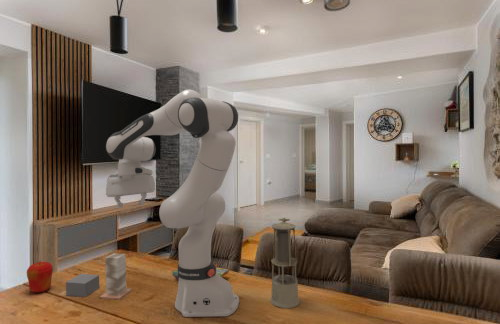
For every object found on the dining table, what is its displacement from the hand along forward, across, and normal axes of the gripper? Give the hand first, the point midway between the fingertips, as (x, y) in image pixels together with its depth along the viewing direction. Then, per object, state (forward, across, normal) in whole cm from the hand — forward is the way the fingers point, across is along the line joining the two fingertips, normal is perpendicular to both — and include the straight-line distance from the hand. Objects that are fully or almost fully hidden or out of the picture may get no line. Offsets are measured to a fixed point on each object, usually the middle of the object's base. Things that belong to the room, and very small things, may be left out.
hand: (130, 206), depth 127 cm
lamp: (+40, +58, +3) cm, 70 cm away
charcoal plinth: (+31, -19, -4) cm, 36 cm away
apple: (+29, -36, -6) cm, 46 cm away
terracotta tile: (+33, -5, -4) cm, 33 cm away
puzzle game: (+33, +22, +15) cm, 42 cm away
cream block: (+32, -5, -4) cm, 33 cm away
